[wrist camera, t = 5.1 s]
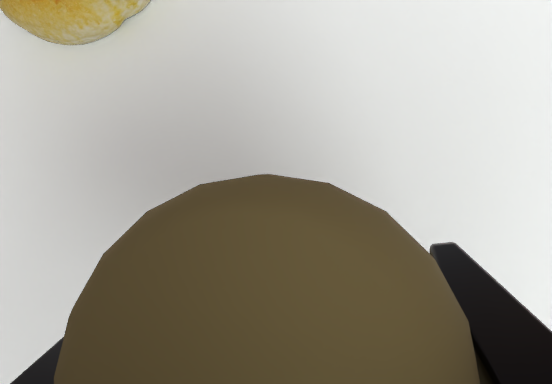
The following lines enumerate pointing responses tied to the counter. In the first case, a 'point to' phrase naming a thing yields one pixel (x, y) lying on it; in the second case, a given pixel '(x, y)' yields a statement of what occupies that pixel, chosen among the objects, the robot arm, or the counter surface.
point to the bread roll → (71, 17)
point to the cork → (267, 295)
